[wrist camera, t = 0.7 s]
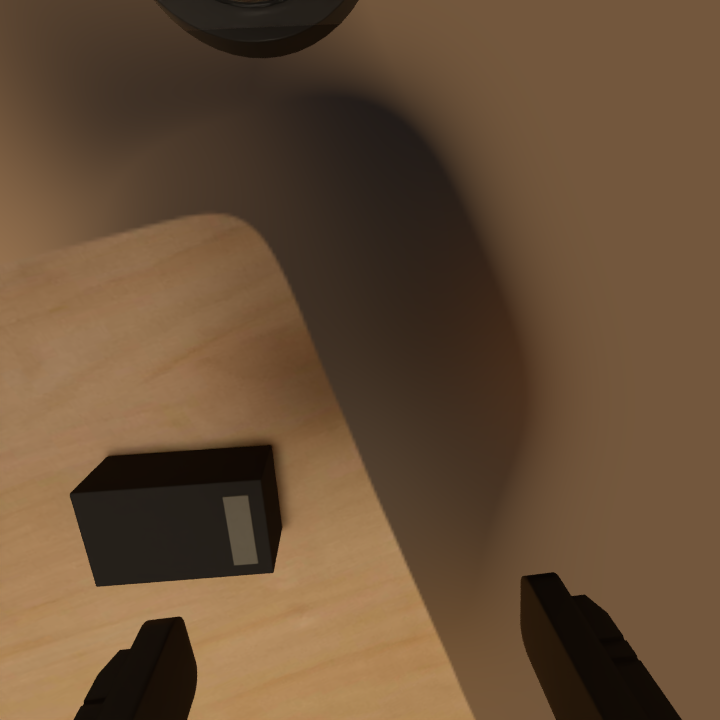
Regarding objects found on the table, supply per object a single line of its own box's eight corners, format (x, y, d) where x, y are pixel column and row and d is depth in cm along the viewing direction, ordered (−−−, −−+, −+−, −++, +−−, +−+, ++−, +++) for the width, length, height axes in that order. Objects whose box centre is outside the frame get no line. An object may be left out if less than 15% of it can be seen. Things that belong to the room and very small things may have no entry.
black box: (106, 456, 24) (67, 494, 20) (271, 444, 24) (260, 480, 21) (127, 540, 25) (95, 588, 22) (282, 528, 26) (273, 574, 22)
